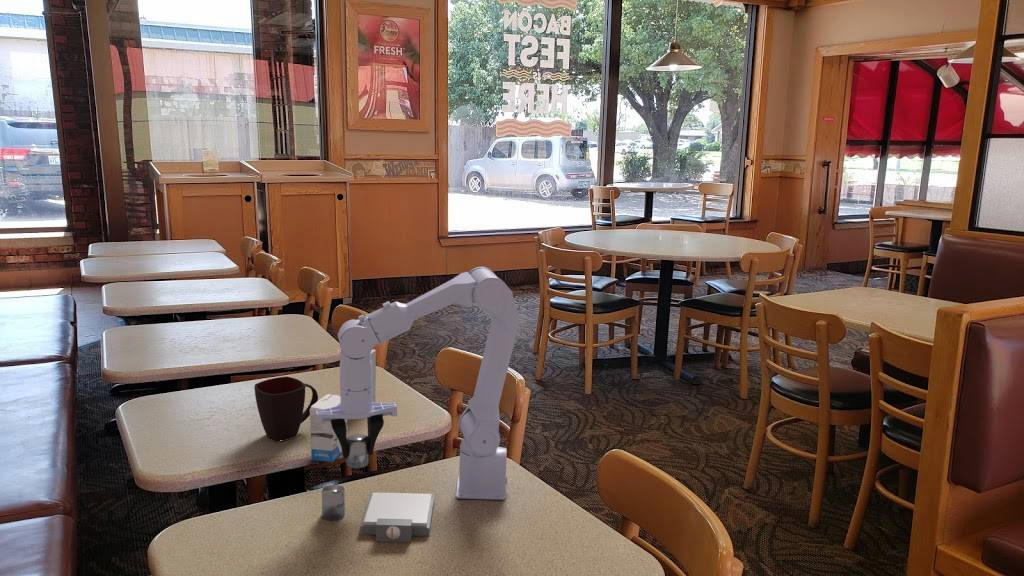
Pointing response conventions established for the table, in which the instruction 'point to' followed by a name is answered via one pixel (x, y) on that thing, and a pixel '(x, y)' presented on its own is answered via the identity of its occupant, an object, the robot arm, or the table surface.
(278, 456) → the table surface
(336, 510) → the cylinder
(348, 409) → the robot arm
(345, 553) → the table surface
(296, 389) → the cup
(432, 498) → the scale
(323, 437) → the ink box
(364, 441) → the cylinder
